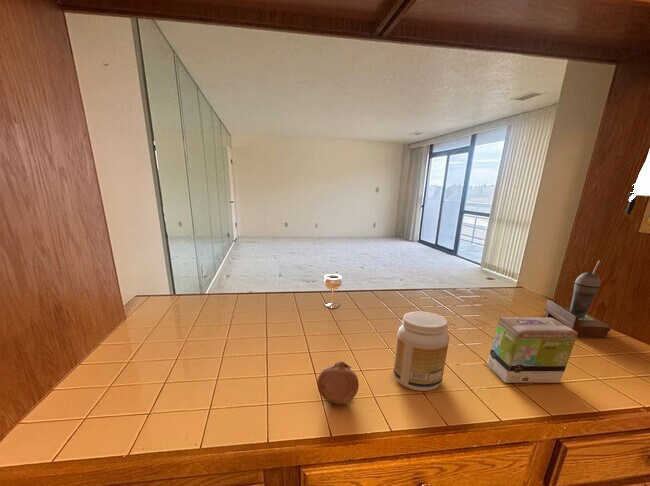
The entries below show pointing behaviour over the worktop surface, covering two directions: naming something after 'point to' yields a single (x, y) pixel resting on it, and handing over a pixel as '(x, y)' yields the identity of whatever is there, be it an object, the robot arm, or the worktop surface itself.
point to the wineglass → (332, 286)
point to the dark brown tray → (577, 321)
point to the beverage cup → (584, 292)
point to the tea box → (531, 349)
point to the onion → (338, 384)
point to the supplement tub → (421, 351)
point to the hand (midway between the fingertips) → (642, 215)
